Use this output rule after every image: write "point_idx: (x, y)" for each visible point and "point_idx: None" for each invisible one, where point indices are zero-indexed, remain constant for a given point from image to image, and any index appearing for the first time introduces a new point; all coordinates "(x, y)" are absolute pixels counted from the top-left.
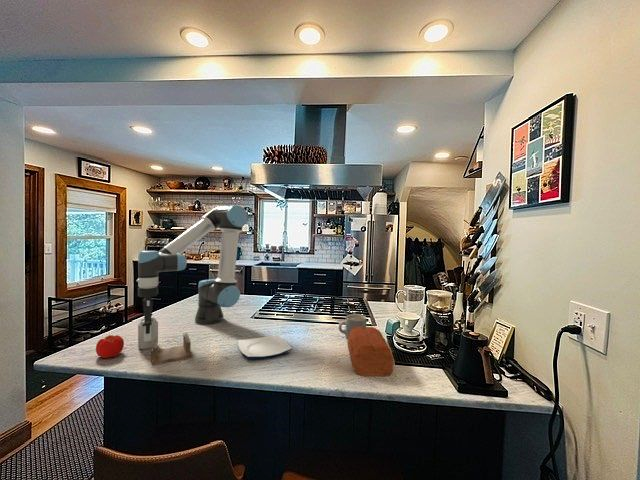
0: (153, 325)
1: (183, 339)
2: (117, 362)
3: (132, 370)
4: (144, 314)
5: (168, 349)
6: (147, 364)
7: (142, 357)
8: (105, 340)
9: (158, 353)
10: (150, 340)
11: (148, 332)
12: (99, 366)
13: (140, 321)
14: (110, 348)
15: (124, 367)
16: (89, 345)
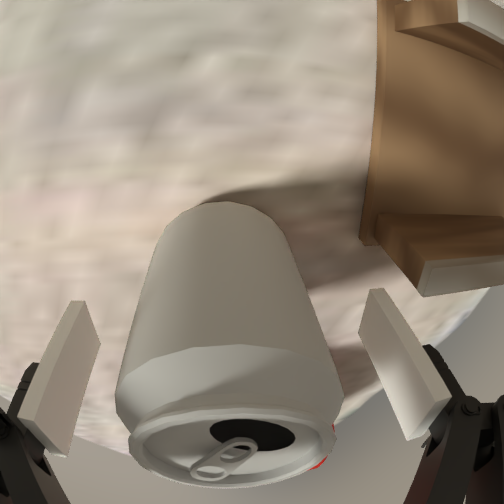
0: (334, 370)
1: (439, 29)
2: (368, 357)
3: (476, 296)
4: (56, 479)
5: (408, 140)
6: None
7: (387, 277)
8: (313, 468)
9: (432, 206)
10: (383, 293)
11: (435, 358)
12: (361, 393)
13: (262, 484)
14: (333, 425)
15: (434, 326)
16: (113, 435)
